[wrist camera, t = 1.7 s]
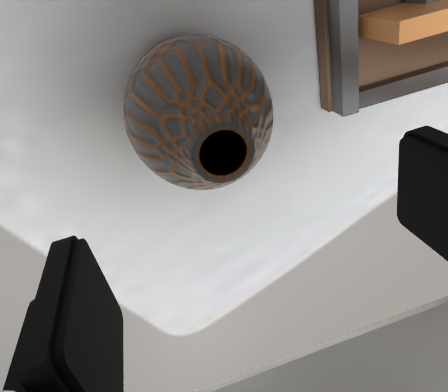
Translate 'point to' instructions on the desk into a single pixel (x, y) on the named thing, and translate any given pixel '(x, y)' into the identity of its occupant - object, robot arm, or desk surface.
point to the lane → (371, 59)
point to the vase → (198, 112)
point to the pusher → (405, 21)
